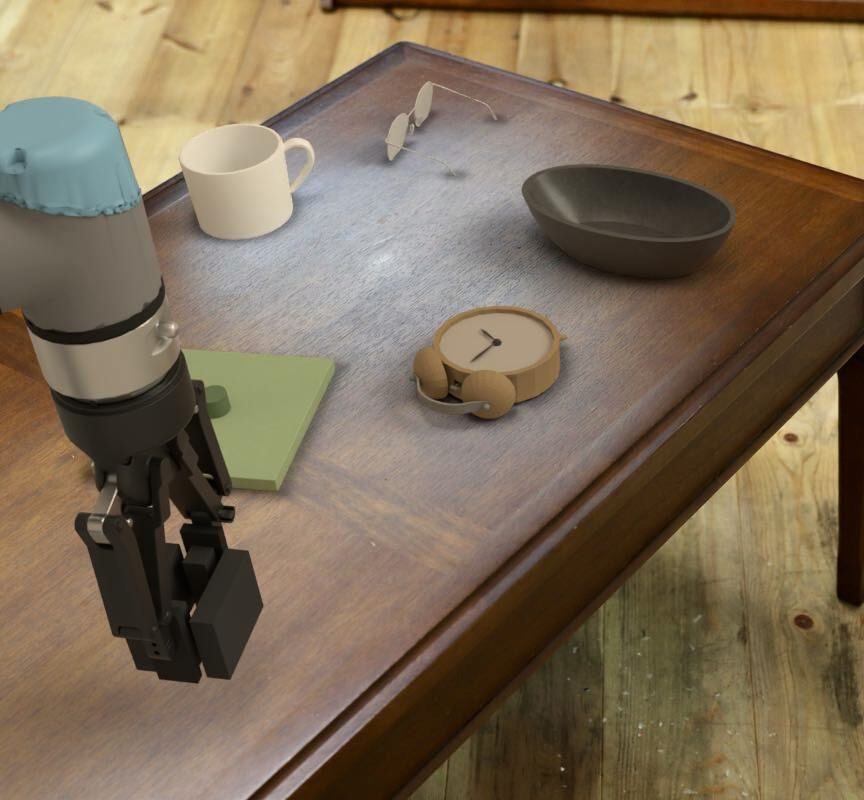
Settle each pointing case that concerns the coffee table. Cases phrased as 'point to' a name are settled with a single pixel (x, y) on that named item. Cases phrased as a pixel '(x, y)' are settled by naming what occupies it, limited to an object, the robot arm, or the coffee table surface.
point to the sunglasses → (420, 114)
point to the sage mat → (259, 409)
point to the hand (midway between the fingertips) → (201, 634)
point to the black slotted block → (211, 606)
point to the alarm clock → (488, 361)
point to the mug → (241, 179)
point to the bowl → (629, 218)
